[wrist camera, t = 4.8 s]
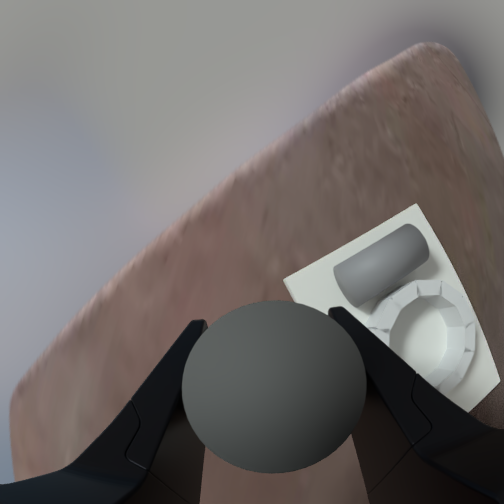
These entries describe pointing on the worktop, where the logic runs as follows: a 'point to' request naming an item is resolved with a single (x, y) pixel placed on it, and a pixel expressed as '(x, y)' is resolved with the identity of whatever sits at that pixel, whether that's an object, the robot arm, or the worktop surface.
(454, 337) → the white socket base plate
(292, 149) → the worktop surface
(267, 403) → the crank handle
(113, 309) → the worktop surface
